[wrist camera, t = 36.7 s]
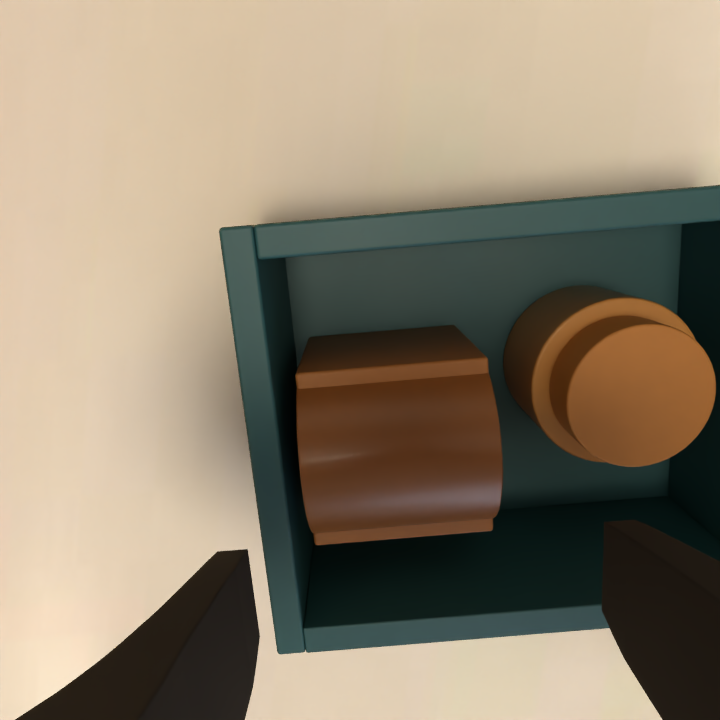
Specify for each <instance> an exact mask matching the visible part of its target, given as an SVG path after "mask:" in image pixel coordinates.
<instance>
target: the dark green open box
mask: <svg viewBox="0 0 720 720" xmlns="http://www.w3.org/2000/svg"><path fill="white" fill-rule="evenodd" d="M219 234H220V241H221V249H222V256H223V263H224V270H225V277H226V285H227V292H228V299H229V306H230V313H231V321H232V328H233V335H234V342H235V349H236V357H237V364H238V371H239V378H240V386H241V393H242V400H243V407H244V414H245V422H246V429H247V436H248V443H249V450H250V458H251V465H252V472H253V479H254V487H255V494H256V501H257V508H258V515H259V523H260V530H261V537H262V544H263V551H264V559H265V566H266V573H267V580H268V588H269V595H270V602H271V609H272V616H273V624H274V631H275V638H276V645H277V651H278V653H279V654H289V653H301V652H305V650H306V652H308V653H309V652H321V651H333V650H345V649H358V648H370V647H382V646H395V645H407V644H419V643H431V642H444V641H456V640H468V639H481V638H493V637H505V636H517V635H530V634H542V633H554V632H567V631H579V630H591V629H603V628H609V625H608V623H607V621H606V619H605V617H604V614H603V612H602V581H603V545H604V522H610V521H623V520H637V521H639V522H642V523H644V524H646V525H649V526H651V527H653V528H655V529H657V530H659V531H661V532H663V533H665V534H667V535H669V536H671V537H673V538H675V539H677V540H679V541H681V542H683V543H685V544H687V545H689V546H690V547H692V548H694V549H696V550H698V551H700V552H702V553H704V554H706V555H708V556H710V557H712V558H714V559H716V560H718V561H720V185H716V186H704V187H692V188H681V189H669V190H657V191H645V192H634V193H622V194H610V195H598V196H587V197H575V198H563V199H551V200H540V201H528V202H516V203H504V204H493V205H481V206H469V207H457V208H446V209H434V210H422V211H410V212H399V213H387V214H375V215H363V216H352V217H340V218H328V219H316V220H305V221H293V222H281V223H269V224H258V225H246V226H234V227H222V228H221V229H220V230H219ZM582 285H587V286H596V287H600V288H604V289H607V290H611V291H615V292H619V293H623V294H627V295H630V296H634V297H638V298H642V299H646V300H650V301H653V302H656V303H658V304H660V305H663V306H664V307H666V308H668V309H669V310H671V311H673V312H674V313H675V314H676V315H677V316H679V317H680V318H681V319H682V320H683V321H684V323H685V324H686V325H687V326H688V327H689V329H690V331H691V332H692V334H693V335H694V337H695V340H696V341H697V342H698V343H699V344H700V345H701V347H702V348H703V349H704V350H705V352H706V354H707V355H708V357H709V359H710V361H711V363H712V366H713V369H714V373H715V379H716V395H715V401H714V405H713V409H712V412H711V414H710V416H709V419H708V421H707V422H706V424H705V426H704V428H703V429H702V430H701V432H700V433H699V435H698V436H697V437H696V438H695V439H694V440H693V441H692V442H691V443H690V444H689V445H688V446H687V447H686V448H684V449H683V450H682V451H680V452H679V453H677V454H676V455H674V456H672V457H670V458H668V459H666V460H664V461H661V462H659V463H655V464H651V465H647V466H640V467H625V466H617V465H613V464H609V463H607V462H594V461H589V460H585V459H581V458H579V457H576V456H573V455H571V454H569V453H568V452H566V451H564V450H563V449H561V448H560V447H558V446H557V445H556V444H555V443H554V442H553V441H552V440H551V439H550V438H549V437H548V436H547V435H546V434H545V433H544V432H543V431H542V430H541V429H540V428H539V427H538V425H537V424H536V423H535V422H534V421H533V420H532V419H531V418H530V417H529V416H528V415H527V413H526V412H525V411H524V410H523V409H522V408H521V407H520V406H519V405H518V403H517V402H516V401H515V399H514V398H513V396H512V395H511V393H510V391H509V388H508V386H507V383H506V380H505V375H504V367H503V359H504V351H505V345H506V342H507V339H508V336H509V334H510V332H511V330H512V328H513V326H514V324H515V323H516V321H517V320H518V318H519V317H520V316H521V315H522V313H523V312H524V311H525V310H526V309H527V308H528V307H529V306H530V305H532V304H533V303H534V302H536V301H537V300H538V299H540V298H541V297H543V296H545V295H547V294H548V293H551V292H553V291H555V290H558V289H562V288H565V287H571V286H582ZM448 325H454V326H456V327H457V328H458V329H459V330H460V331H461V332H462V333H463V334H464V335H465V336H466V337H467V338H468V339H469V340H470V341H471V342H472V343H473V344H474V345H475V346H476V347H477V348H478V349H479V350H480V351H481V352H482V353H483V354H484V355H485V356H486V357H487V358H488V371H489V375H490V379H491V382H492V386H493V391H494V395H495V400H496V405H497V411H498V417H499V424H500V433H501V442H502V456H503V489H502V498H501V505H500V508H499V512H498V514H497V515H496V517H494V518H493V529H492V531H484V532H472V533H460V534H448V535H436V536H424V537H412V538H400V539H388V540H376V541H364V542H352V543H339V544H327V545H315V543H314V536H313V532H311V530H310V527H309V525H308V521H307V517H306V513H305V507H304V501H303V495H302V487H301V479H300V469H299V458H298V443H297V422H296V389H297V388H296V380H295V375H296V372H297V369H298V367H299V364H300V361H301V358H302V356H303V353H304V350H305V347H306V345H307V342H308V339H309V338H310V337H318V336H330V335H341V334H353V333H365V332H377V331H389V330H400V329H412V328H424V327H436V326H448Z"/></svg>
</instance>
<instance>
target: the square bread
mask: <svg viewBox="0 0 720 720" xmlns="http://www.w3.org/2000/svg"><path fill="white" fill-rule="evenodd" d="M295 380H296V388H297V389H296V422H297V443H298V458H299V469H300V479H301V487H302V495H303V501H304V507H305V513H306V517H307V521H308V525H309V527H310V530H311V532H313V536H314V543H315V545H327V544H339V543H352V542H364V541H376V540H388V539H400V538H412V537H424V536H436V535H448V534H460V533H472V532H484V531H492V529H493V518H494V517H496V515H497V514H498V512H499V508H500V505H501V498H502V489H503V456H502V442H501V433H500V424H499V417H498V411H497V405H496V400H495V395H494V391H493V386H492V382H491V379H490V375H489V371H488V358H487V357H486V356H485V355H484V354H483V353H482V352H481V351H480V350H479V349H478V348H477V347H476V346H475V345H474V344H473V343H472V342H471V341H470V340H469V339H468V338H467V337H466V336H465V335H464V334H463V333H462V332H461V331H460V330H459V329H458V328H457V327H456V326H454V325H448V326H436V327H424V328H412V329H400V330H389V331H377V332H365V333H353V334H341V335H330V336H318V337H310V338H309V339H308V342H307V345H306V347H305V350H304V353H303V356H302V358H301V361H300V364H299V367H298V369H297V372H296V375H295Z"/></svg>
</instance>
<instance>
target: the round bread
mask: <svg viewBox="0 0 720 720" xmlns="http://www.w3.org/2000/svg"><path fill="white" fill-rule="evenodd" d="M503 367H504V375H505V380H506V383H507V386H508V388H509V391H510V393H511V395H512V396H513V398H514V399H515V401H516V402H517V403H518V405H519V406H520V407H521V408H522V409H523V410H524V411H525V412H526V413H527V415H528V416H529V417H530V418H531V419H532V420H533V421H534V422H535V423H536V424H537V425H538V427H539V428H540V429H541V430H542V431H543V432H544V433H545V434H546V435H547V436H548V437H549V438H550V439H551V440H552V441H553V442H554V443H555V444H556V445H557V446H558V447H560V448H561V449H563V450H564V451H566V452H568V453H569V454H571V455H573V456H576V457H579V458H581V459H585V460H589V461H594V462H607V463H609V464H613V465H617V466H625V467H640V466H647V465H651V464H655V463H659V462H661V461H664V460H666V459H668V458H670V457H672V456H674V455H676V454H677V453H679V452H680V451H682V450H683V449H684V448H686V447H687V446H688V445H689V444H690V443H691V442H692V441H693V440H694V439H695V438H696V437H697V436H698V435H699V433H700V432H701V430H702V429H703V428H704V426H705V424H706V422H707V421H708V419H709V416H710V414H711V412H712V409H713V405H714V401H715V395H716V379H715V373H714V369H713V366H712V363H711V361H710V359H709V357H708V355H707V354H706V352H705V350H704V349H703V348H702V347H701V345H700V344H699V343H698V342H697V341H696V340H695V337H694V335H693V334H692V332H691V331H690V329H689V327H688V326H687V325H686V324H685V323H684V321H683V320H682V319H681V318H680V317H679V316H677V315H676V314H675V313H674V312H673V311H671V310H669V309H668V308H666V307H664V306H663V305H660V304H658V303H656V302H653V301H650V300H646V299H642V298H638V297H634V296H630V295H627V294H623V293H619V292H615V291H611V290H607V289H604V288H600V287H596V286H587V285H582V286H571V287H565V288H562V289H558V290H555V291H553V292H551V293H548V294H547V295H545V296H543V297H541V298H540V299H538V300H537V301H536V302H534V303H533V304H532V305H530V306H529V307H528V308H527V309H526V310H525V311H524V312H523V313H522V315H521V316H520V317H519V318H518V320H517V321H516V323H515V324H514V326H513V328H512V330H511V332H510V334H509V336H508V339H507V342H506V345H505V351H504V359H503Z"/></svg>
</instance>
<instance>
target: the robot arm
mask: <svg viewBox="0 0 720 720" xmlns="http://www.w3.org/2000/svg"><path fill="white" fill-rule="evenodd" d="M602 612H603V614H604V617H605V619H606V621H607V623H608V625H609V628H610V630H611V632H612V634H613V636H614V638H615V640H616V643H617V645H618V647H619V649H620V651H621V653H622V655H623V657H624V659H625V660H626V662H627V664H628V665H629V667H630V669H631V670H632V672H633V673H634V675H635V677H636V678H637V680H638V681H639V683H640V685H641V686H642V688H643V689H644V691H645V693H646V694H647V696H648V697H649V699H650V701H651V702H652V704H653V705H654V707H655V708H656V710H657V711H658V713H659V715H660V716H661V718H662V719H663V720H720V561H718V560H716V559H714V558H712V557H710V556H708V555H706V554H704V553H702V552H700V551H698V550H696V549H694V548H692V547H690V546H689V545H687V544H685V543H683V542H681V541H679V540H677V539H675V538H673V537H671V536H669V535H667V534H665V533H663V532H661V531H659V530H657V529H655V528H653V527H651V526H649V525H646V524H644V523H642V522H639V521H637V520H623V521H610V522H604V545H603V581H602ZM259 638H260V635H259V628H258V621H257V613H256V606H255V599H254V592H253V585H252V578H251V571H250V564H249V556H248V549H246V550H233V551H220V552H217V553H216V554H215V555H213V556H212V557H211V558H210V559H209V560H208V561H207V562H206V563H205V564H204V565H203V566H202V567H201V568H200V569H199V570H198V571H197V572H196V573H195V574H194V575H193V576H192V577H191V578H190V579H189V580H188V581H187V582H186V583H185V584H184V585H183V586H182V587H181V588H180V589H179V590H178V591H177V592H176V593H175V594H174V595H173V596H172V597H171V598H170V599H169V600H168V601H167V602H166V603H165V604H164V605H163V606H162V607H161V608H160V609H159V610H157V611H156V612H155V613H154V614H153V615H152V616H151V617H150V618H149V619H147V620H146V621H145V622H144V623H143V624H142V625H141V626H140V627H138V628H137V629H136V630H135V631H134V632H133V633H132V634H131V635H129V636H128V637H127V638H126V639H125V640H124V641H123V642H121V643H120V644H119V645H118V646H117V647H116V648H115V649H113V650H112V651H111V652H110V653H108V654H107V655H106V656H105V657H104V658H102V659H101V660H100V661H98V662H97V663H96V664H95V665H93V666H92V667H91V668H89V669H88V670H87V671H85V672H84V673H83V674H81V675H80V676H79V677H77V678H76V679H75V680H73V681H72V682H71V683H69V684H68V685H67V686H65V687H64V688H62V689H61V690H60V691H58V692H57V693H55V694H54V695H52V696H51V697H49V698H48V699H46V700H45V701H43V702H42V703H40V704H38V705H37V706H35V707H34V708H32V709H31V710H29V711H28V712H26V713H25V714H23V715H22V716H20V717H19V718H17V719H16V720H245V716H246V712H247V708H248V704H249V700H250V696H251V692H252V688H253V683H254V676H255V669H256V662H257V654H258V646H259Z"/></svg>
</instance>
